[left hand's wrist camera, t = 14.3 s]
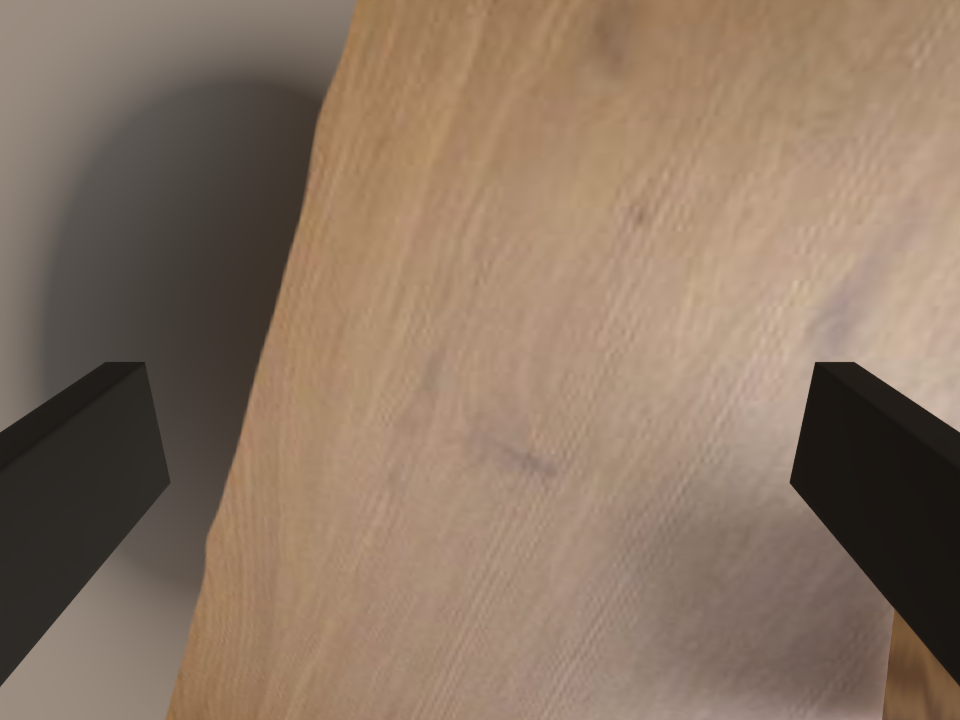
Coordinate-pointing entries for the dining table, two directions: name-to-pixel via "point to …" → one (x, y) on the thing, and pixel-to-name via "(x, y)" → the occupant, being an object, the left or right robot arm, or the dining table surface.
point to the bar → (917, 680)
